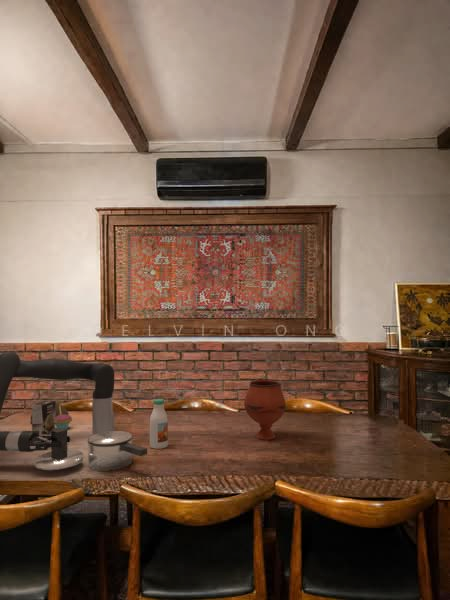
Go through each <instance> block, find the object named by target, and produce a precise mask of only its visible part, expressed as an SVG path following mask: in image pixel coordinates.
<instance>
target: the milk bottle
mask: <svg viewBox="0 0 450 600" xmlns="http://www.w3.org/2000/svg"><path fill="white" fill-rule="evenodd" d="M152 404H153V405H152V406H153V409H152V411H151V412H152V413H151V415H150V419H149V447H150V449H154V450H161V449H165V448H167V447H168V445H169V421H168V415H167V412H166V411H165V407H164V405H165V399H163V398H155V399H153V401H152Z"/></svg>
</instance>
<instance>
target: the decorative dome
mask: <svg viewBox="0 0 450 600" xmlns="http://www.w3.org/2000/svg"><path fill="white" fill-rule="evenodd" d="M59 405H60V407H61V415H63V414H65V415H69V416H70V414H69V412H68V410H67V409H66V407H64V405H62V404H60V403H57V402H55V417H56V416H58V415H60V410H59ZM30 424H31V425H32V414H31V415H30Z"/></svg>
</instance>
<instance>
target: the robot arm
mask: <svg viewBox="0 0 450 600" xmlns="http://www.w3.org/2000/svg"><path fill="white" fill-rule="evenodd" d="M114 370H115V369H114V367H113V366H112V365H109V364H107V363H104V362H103V363H102V362H96V363H95V362H94V363H93V362H90V363H88V362H87V363H84V362H78V361H74V360H68V359H62V358H61V359H60V358H43V359H36V360H21V357H20V356H19V355H18V354H17V353H16V352H14V351H11V350H10V351H8V350H7V351H4V352H2V353H1V354H0V414H1V411H2V410H3V409H2V408H3V405H4V402H5V399H6V396H7V392H8V390H9V387H10V386H11V383H12V380H13V378H30V379H31V378H32V379H44V380H55V381H68V380H77V379H78V380H79V379H82V380H87V381H93V382H95V383H94V384H95V386H94V387H95V388H94V390H93V391H92V397H91V398H92V399H91V400H92V415H91V416H92V417H91V419H92V421H91V422H92V423H91V425H92V431H91V432H92V435H94V434H97V433H101V432H107V431H115V412H114V411H113V395H114V391H115V371H114ZM70 442H71V436H70V435H67V443H70ZM62 446H63V442H62V441H51V433H47V435H41V436H39V434H38V433H37V432H36V431H32V430H14V431H12V430H11V431H9V430H8V431H6V430H3V431H0V451H1V452H2V451H3V452H14V453H15V452H16V453H17V452H18V453H33V452H35V451H36V452H37V451H38V452H39V451H47V450H48V449H51V448H61V447H62Z"/></svg>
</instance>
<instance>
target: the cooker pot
mask: <svg viewBox="0 0 450 600" xmlns="http://www.w3.org/2000/svg"><path fill="white" fill-rule="evenodd" d="M132 439H133V435H132V433H131V432H128V431H123V430H114V431H107V432H101V433H97V434H94V435H93V434H92V435H90V436H88V437H87V444H88V446H87V448H88V451H87V453H88V454H87V455H88V456H87V457H88V460H87V461H88V462H87V465H88V466H87V467H88V468H89V467H90V468H91V469H90V468H89V469H90V470H93V469H94V470H93V471H97V470H100V471H99V472H109V471H110V470H112V471H117V470H116V469H118V470H121V469H124V468H126V466H127V467H129V464H130V465H131V464H132V463H133V461H132V459H133V457H132V456H133V455H135V456H139V457H142V456H145V455H148V447H145V446H142V445H141V446H140V445H138V444H133V441H132ZM132 454H133V455H132ZM120 468H121V469H120Z"/></svg>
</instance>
